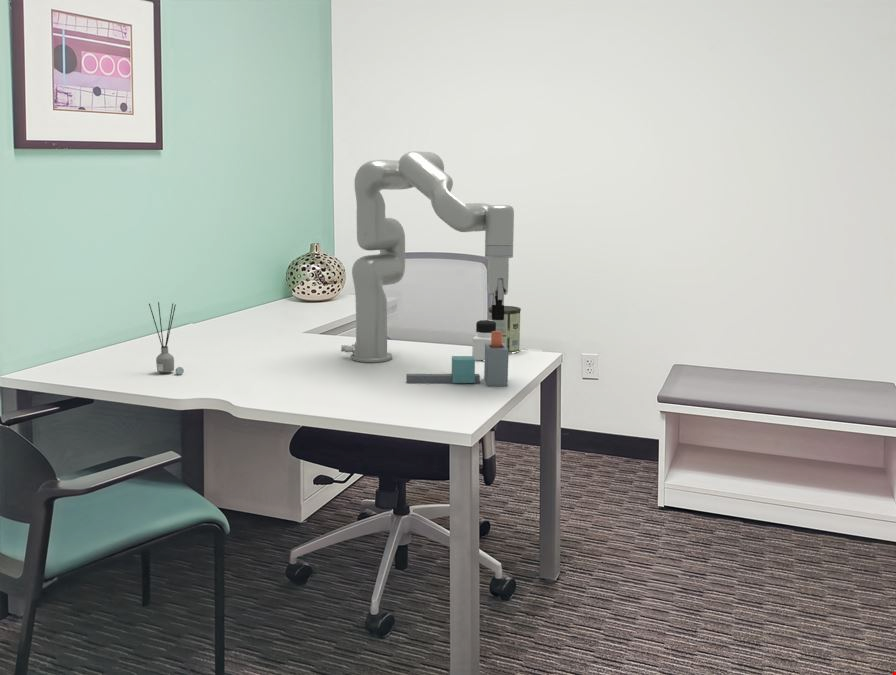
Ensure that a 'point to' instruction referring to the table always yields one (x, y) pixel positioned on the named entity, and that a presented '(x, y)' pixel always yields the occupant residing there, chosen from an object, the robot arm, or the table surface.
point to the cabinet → (496, 365)
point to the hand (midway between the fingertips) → (497, 319)
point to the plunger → (496, 339)
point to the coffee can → (509, 327)
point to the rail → (433, 378)
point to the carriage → (463, 369)
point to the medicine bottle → (482, 338)
